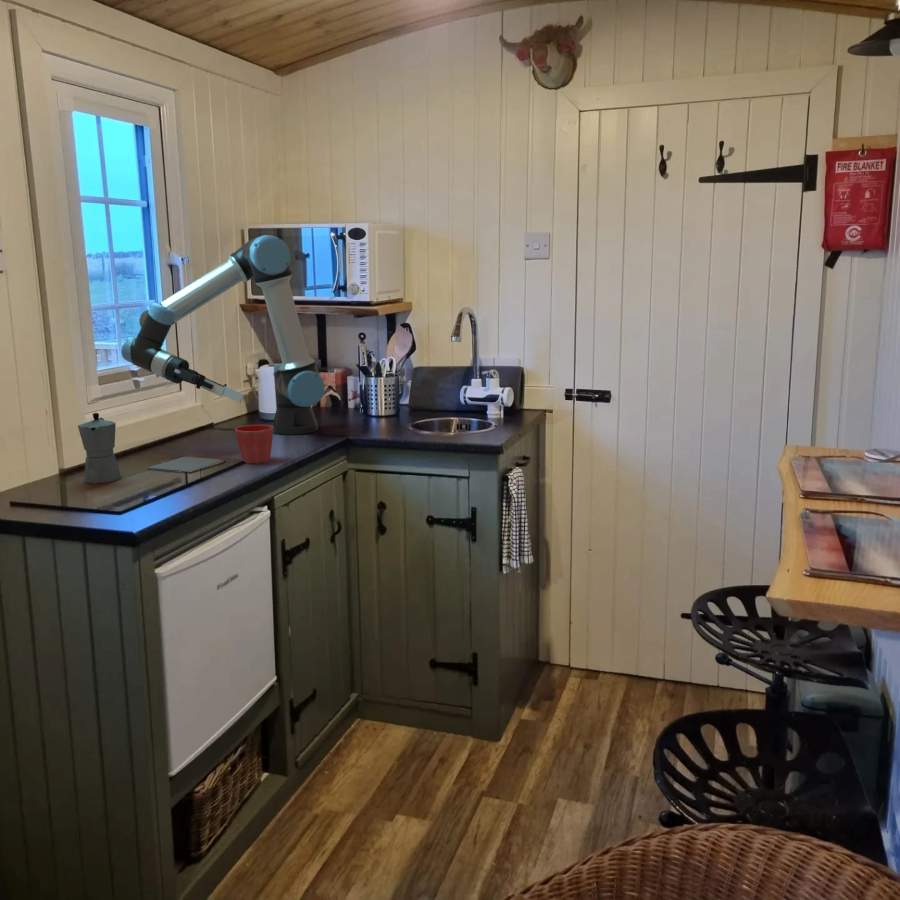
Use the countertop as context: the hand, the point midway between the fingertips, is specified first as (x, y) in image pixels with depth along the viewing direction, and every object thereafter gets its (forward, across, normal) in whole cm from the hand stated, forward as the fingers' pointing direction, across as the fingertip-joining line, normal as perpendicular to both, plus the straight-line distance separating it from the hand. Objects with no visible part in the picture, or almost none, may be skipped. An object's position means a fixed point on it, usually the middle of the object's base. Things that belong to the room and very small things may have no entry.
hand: (233, 395), depth 256 cm
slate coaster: (-1, +8, -23) cm, 24 cm away
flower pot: (+15, 0, -14) cm, 21 cm away
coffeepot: (-14, +23, -34) cm, 43 cm away
